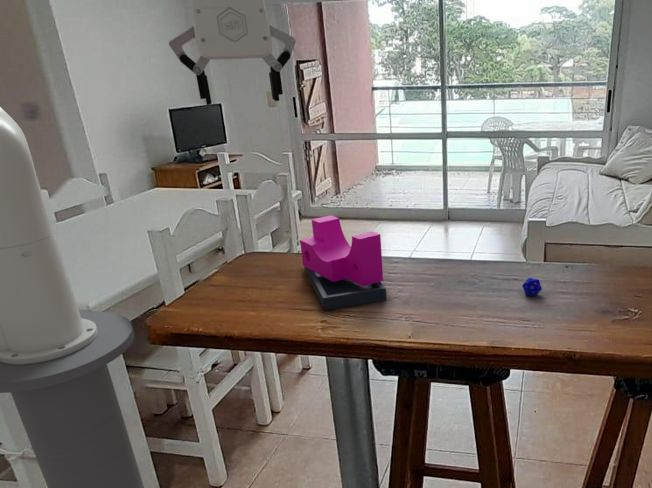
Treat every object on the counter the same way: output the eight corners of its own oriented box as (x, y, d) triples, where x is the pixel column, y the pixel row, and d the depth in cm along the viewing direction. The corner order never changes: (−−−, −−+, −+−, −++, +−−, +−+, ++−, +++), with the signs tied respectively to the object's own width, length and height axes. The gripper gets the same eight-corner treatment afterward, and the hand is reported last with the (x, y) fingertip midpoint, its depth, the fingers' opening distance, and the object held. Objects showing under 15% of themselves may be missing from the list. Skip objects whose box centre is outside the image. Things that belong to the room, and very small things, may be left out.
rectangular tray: (324, 310, 85) (322, 298, 84) (304, 270, 101) (303, 259, 100) (386, 300, 87) (385, 288, 86) (357, 262, 103) (357, 252, 102)
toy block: (303, 265, 97) (297, 222, 94) (335, 257, 100) (331, 215, 97) (348, 290, 86) (344, 242, 83) (383, 280, 89) (380, 234, 86)
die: (523, 299, 86) (517, 280, 87) (530, 299, 89) (524, 281, 89) (539, 293, 85) (533, 274, 86) (546, 293, 87) (540, 275, 88)
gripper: (152, -37, 72) (180, 107, 79) (290, -35, 77) (305, 100, 84) (156, -29, 78) (181, 104, 86) (283, -28, 83) (297, 97, 91)
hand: (243, 102), depth 85 cm, fingers open, 9 cm apart
